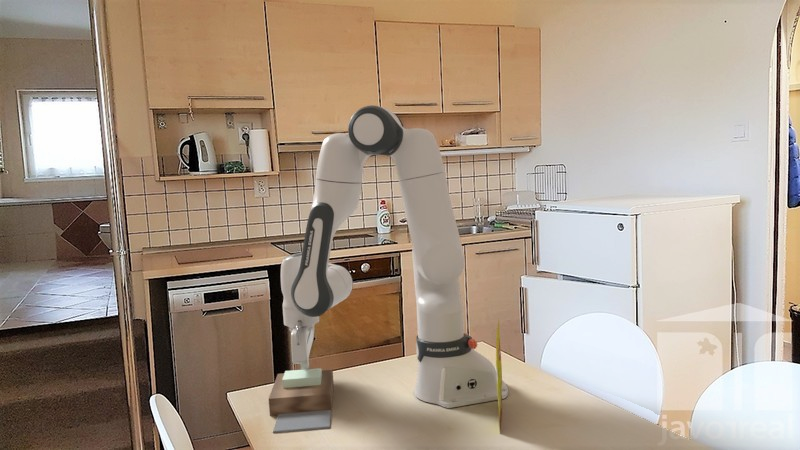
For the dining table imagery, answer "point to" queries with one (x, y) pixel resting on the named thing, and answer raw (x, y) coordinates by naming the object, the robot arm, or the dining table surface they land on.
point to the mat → (302, 421)
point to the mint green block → (302, 378)
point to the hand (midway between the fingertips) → (305, 369)
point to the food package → (499, 374)
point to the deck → (301, 396)
